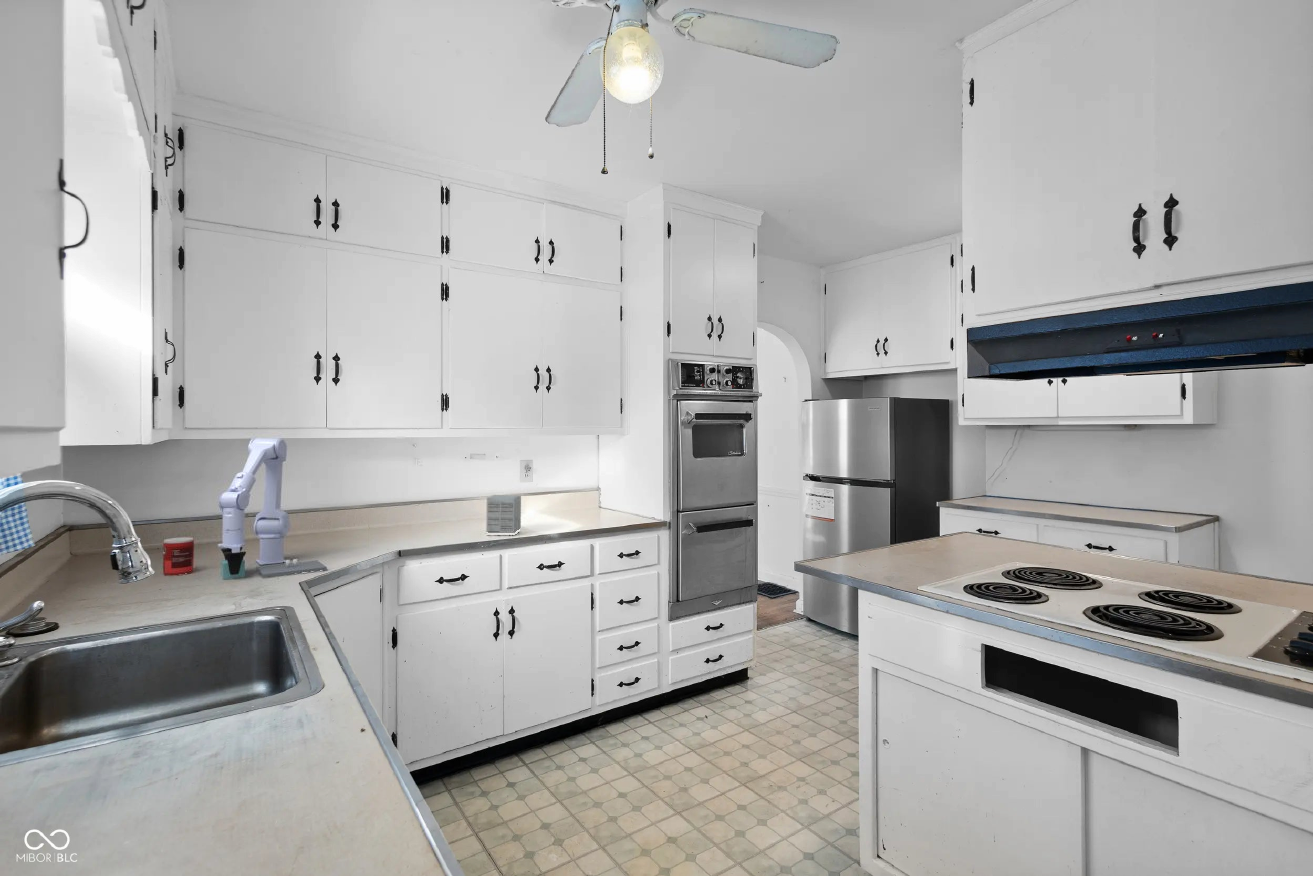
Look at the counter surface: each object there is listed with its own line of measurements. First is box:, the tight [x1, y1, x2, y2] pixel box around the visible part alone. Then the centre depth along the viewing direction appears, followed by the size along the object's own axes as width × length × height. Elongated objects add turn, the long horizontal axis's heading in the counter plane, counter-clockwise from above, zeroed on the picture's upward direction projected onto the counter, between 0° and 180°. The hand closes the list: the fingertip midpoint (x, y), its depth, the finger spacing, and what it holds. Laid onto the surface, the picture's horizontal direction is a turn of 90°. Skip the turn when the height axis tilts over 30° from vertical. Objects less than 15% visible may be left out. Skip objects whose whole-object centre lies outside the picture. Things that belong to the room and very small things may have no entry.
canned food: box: [162, 536, 195, 576], centre depth 198 cm, size 8×8×11 cm
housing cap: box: [220, 558, 246, 580], centre depth 194 cm, size 6×6×5 cm
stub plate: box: [256, 558, 328, 579], centre depth 204 cm, size 14×18×4 cm
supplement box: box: [485, 494, 522, 533], centre depth 285 cm, size 13×13×18 cm
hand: (233, 572), depth 194 cm, fingers open, 7 cm apart
